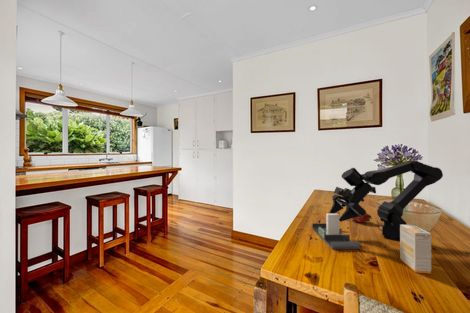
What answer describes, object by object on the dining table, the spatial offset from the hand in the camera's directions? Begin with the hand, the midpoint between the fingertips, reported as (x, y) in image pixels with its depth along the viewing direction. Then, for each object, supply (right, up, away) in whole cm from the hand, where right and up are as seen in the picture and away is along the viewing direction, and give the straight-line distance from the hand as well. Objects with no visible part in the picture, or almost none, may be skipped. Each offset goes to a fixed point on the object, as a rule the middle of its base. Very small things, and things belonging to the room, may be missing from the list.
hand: (334, 217), depth 91 cm
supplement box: (+16, -10, -24) cm, 30 cm away
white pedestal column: (-1, -8, 0) cm, 9 cm away
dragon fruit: (+24, -9, +21) cm, 33 cm away
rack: (-1, -9, 0) cm, 9 cm away
